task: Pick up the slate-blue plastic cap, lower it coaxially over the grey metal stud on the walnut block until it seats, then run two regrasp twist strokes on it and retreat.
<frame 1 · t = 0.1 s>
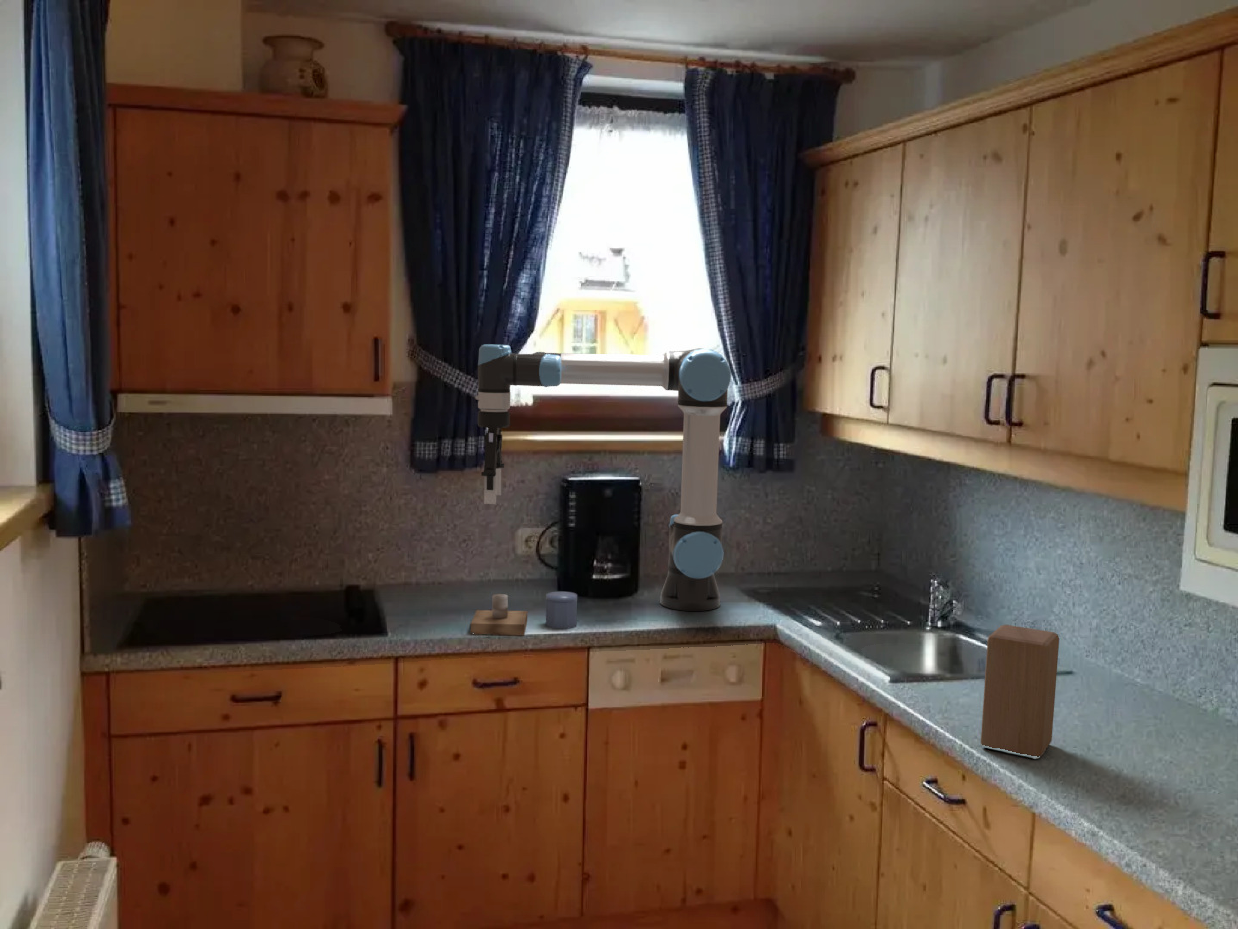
hand: (492, 499, 272), 28 cm above the worktop, fingers open, 13 cm apart
wooden block: (1015, 748, 196), on the worktop
stud block: (499, 627, 263), on the worktop
cap: (561, 624, 267), on the worktop
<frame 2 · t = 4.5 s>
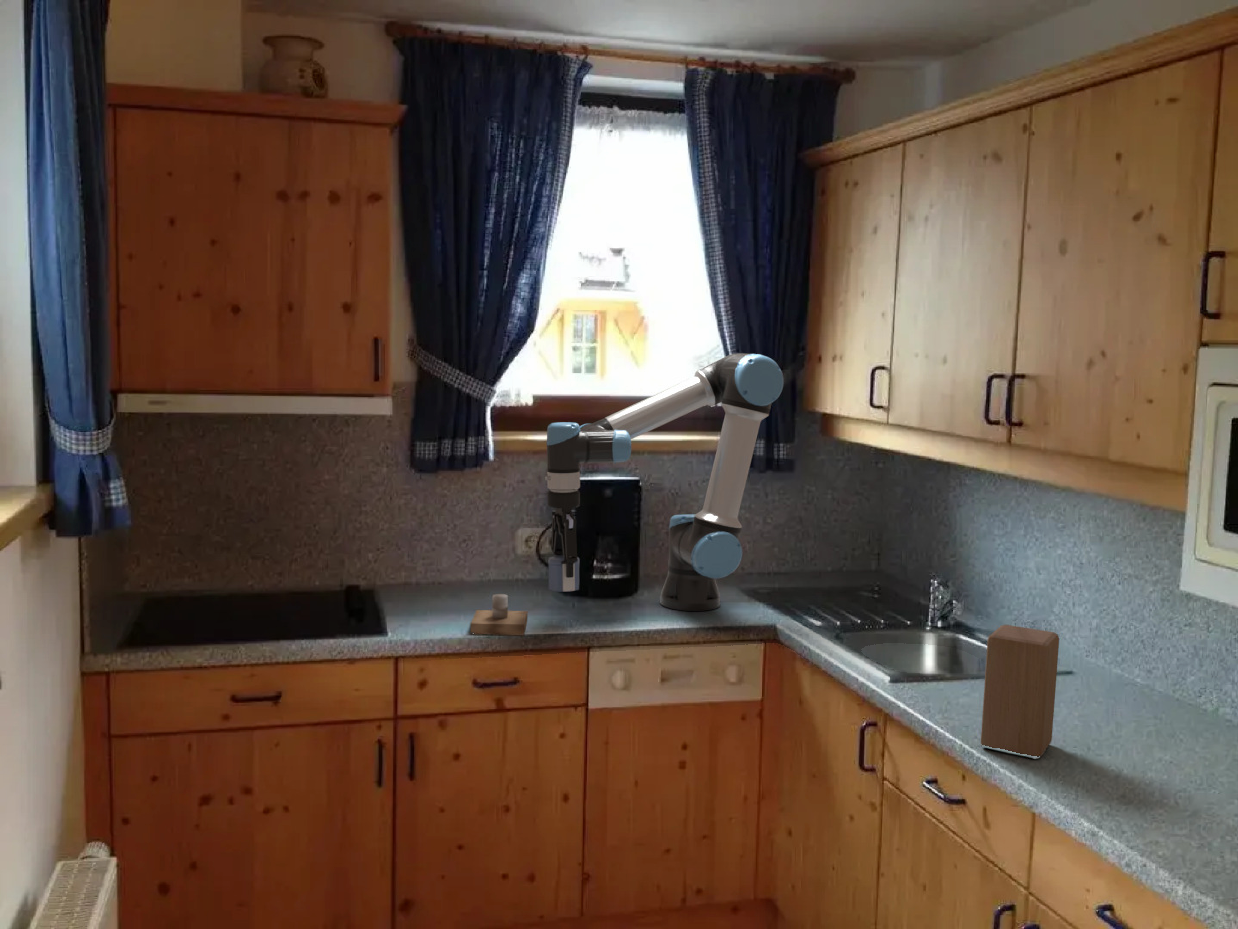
hand: (564, 586, 266), 9 cm above the worktop, fingers closed on cap, 7 cm apart
cap: (563, 588, 266), point 9 cm above the worktop, touching gripper
everything else where it was.
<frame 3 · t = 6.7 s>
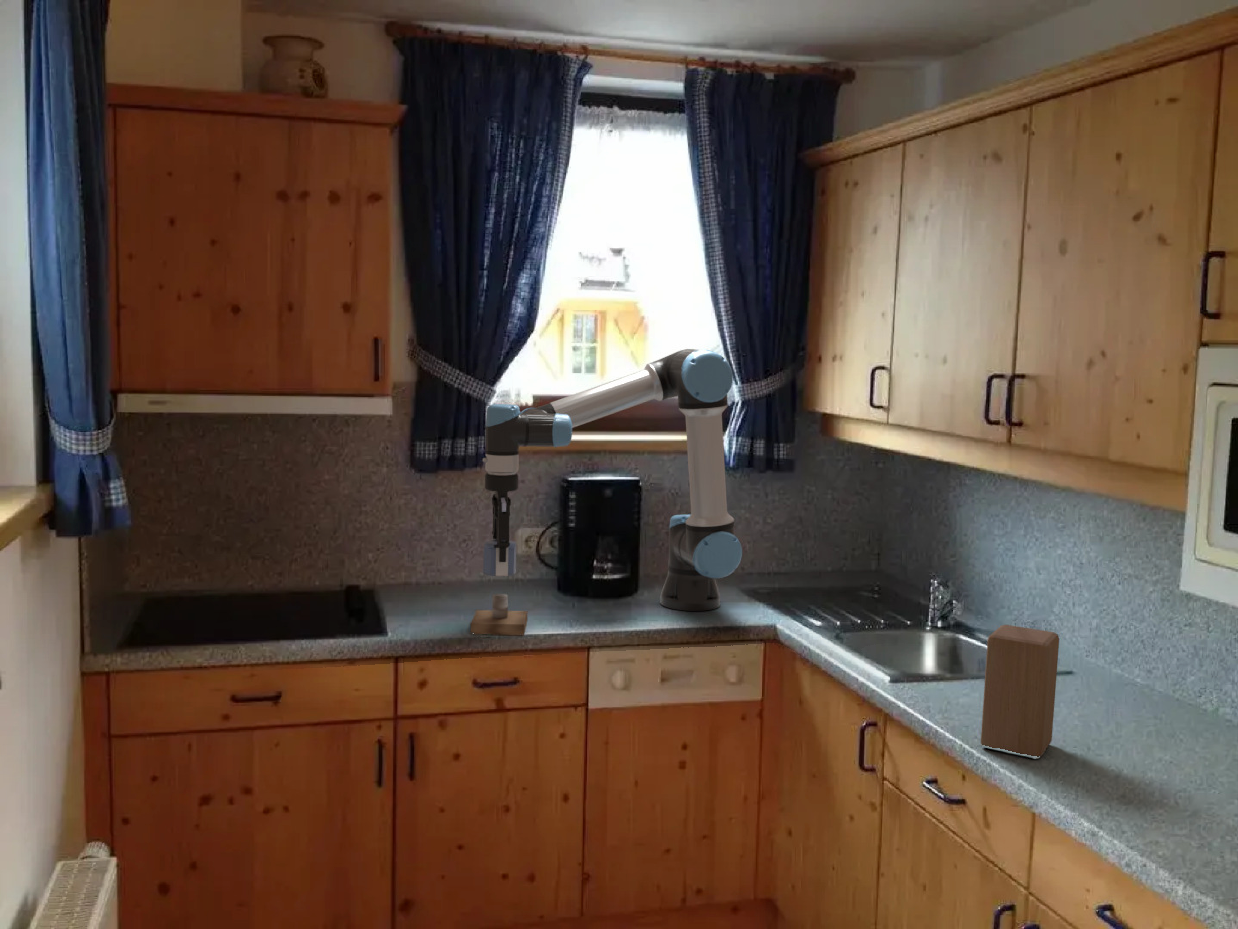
hand: (500, 571, 261), 13 cm above the worktop, fingers closed on cap, 7 cm apart
cap: (499, 572, 261), point 13 cm above the worktop, touching gripper
everything else where it was.
when the fingers open (3 cm above the worktop, at t = 9.3 s): cap stays where it is, resting on stud block.
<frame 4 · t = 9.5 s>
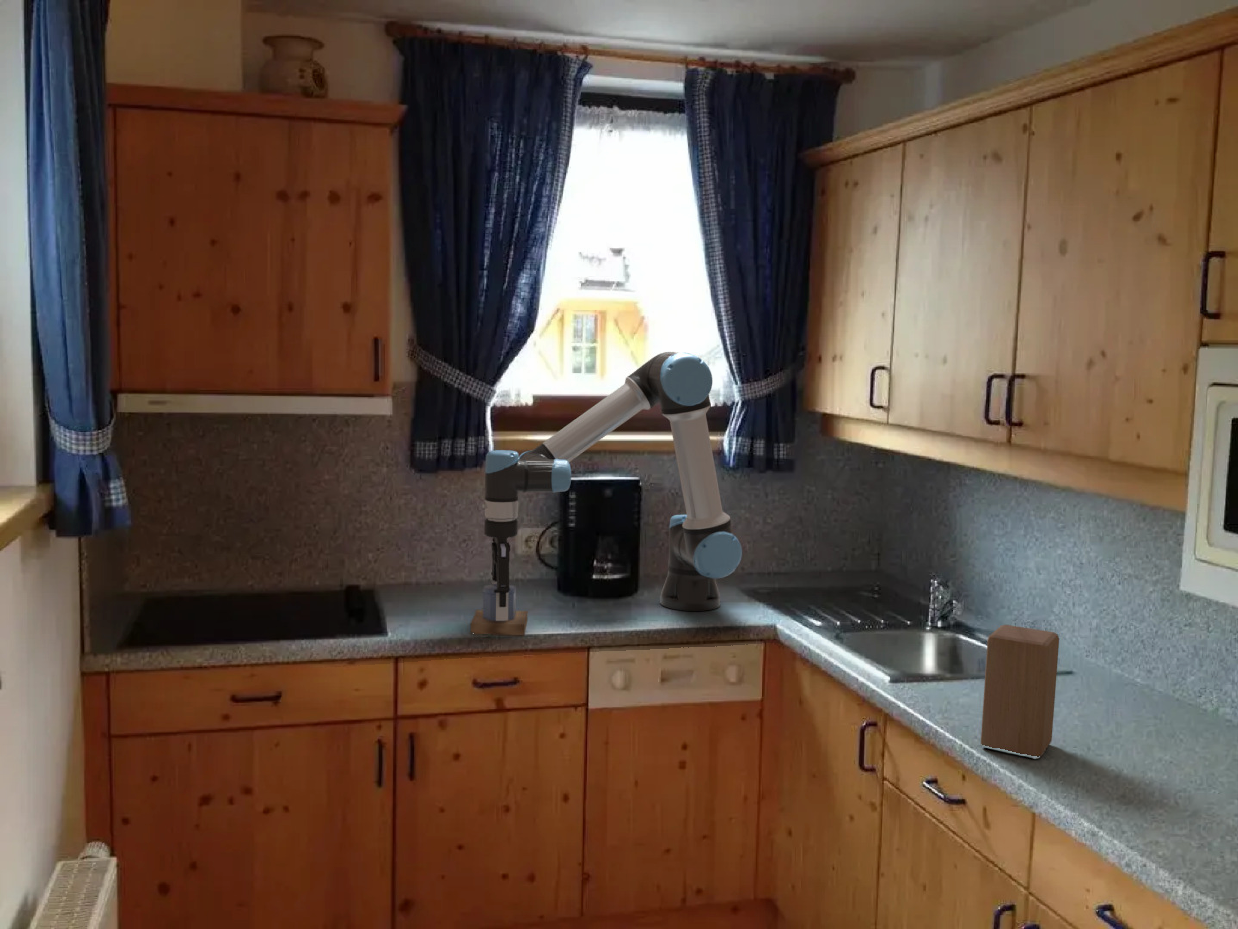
hand: (499, 614, 263), 3 cm above the worktop, fingers open, 9 cm apart
cap: (499, 617, 263), point 2 cm above the worktop, touching stud block
everything else where it was.
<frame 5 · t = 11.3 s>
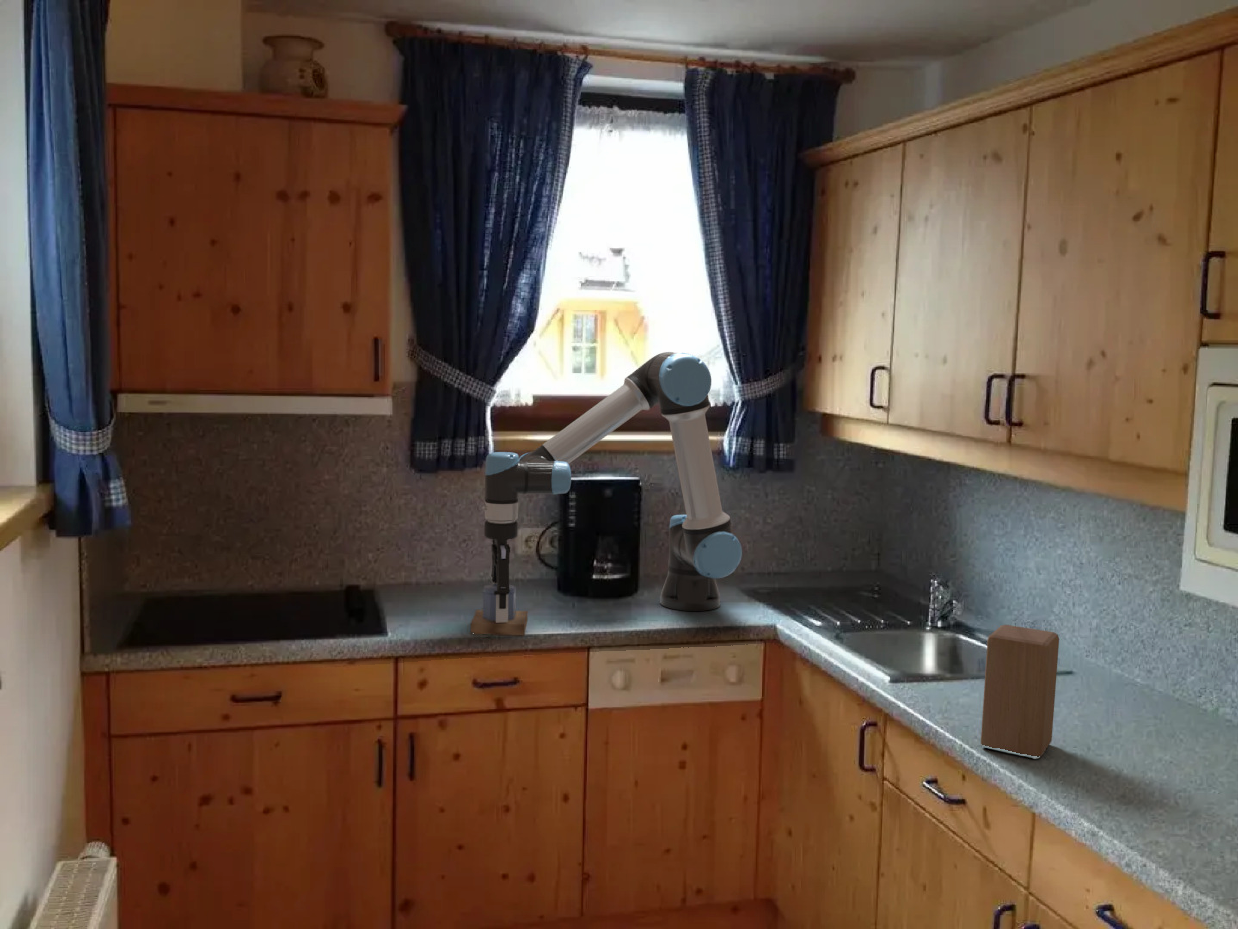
hand: (499, 616, 263), 3 cm above the worktop, fingers closed on stud block, 10 cm apart
nothing on the worktop moved.
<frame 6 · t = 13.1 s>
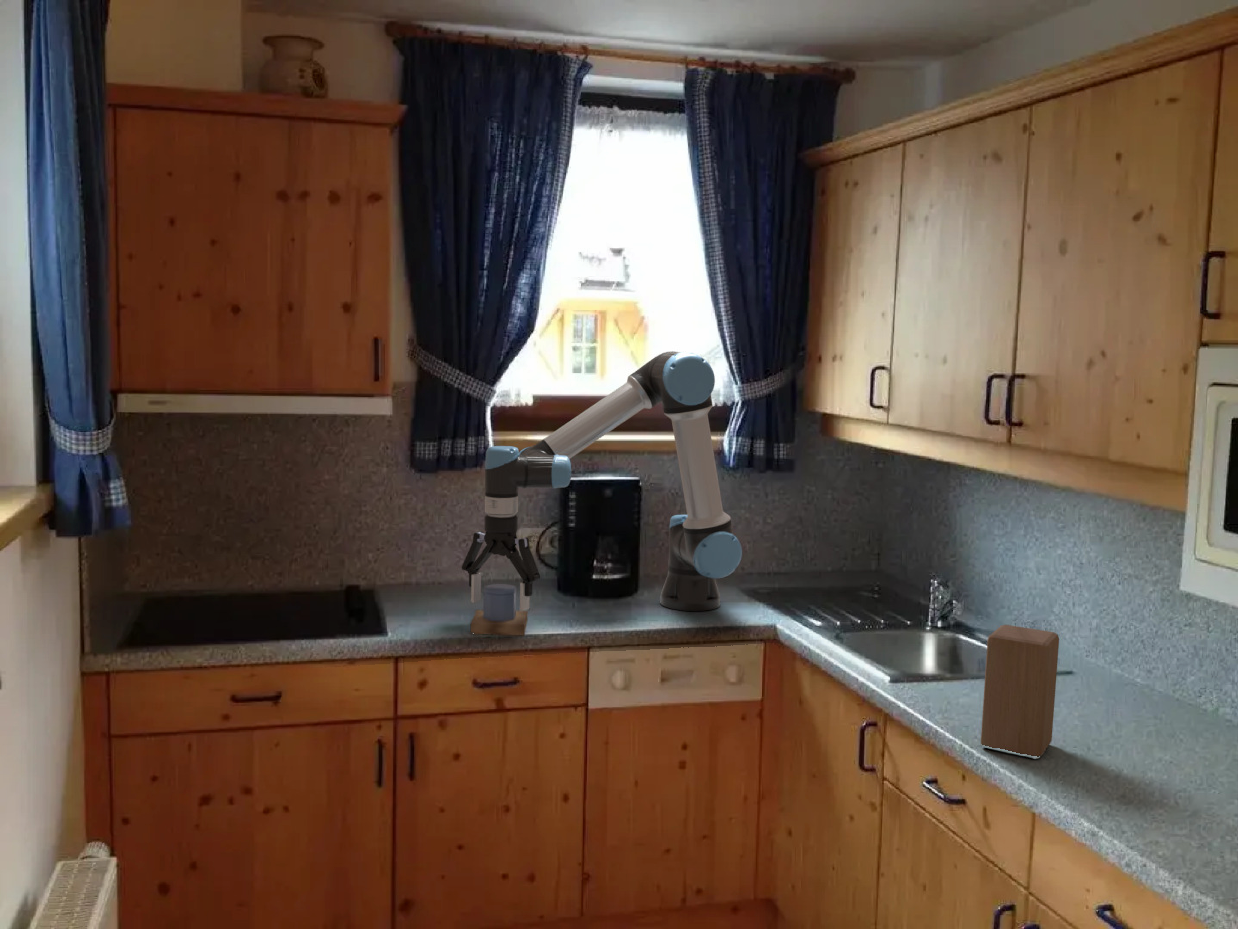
hand: (500, 605, 262), 5 cm above the worktop, fingers open, 13 cm apart
nothing on the worktop moved.
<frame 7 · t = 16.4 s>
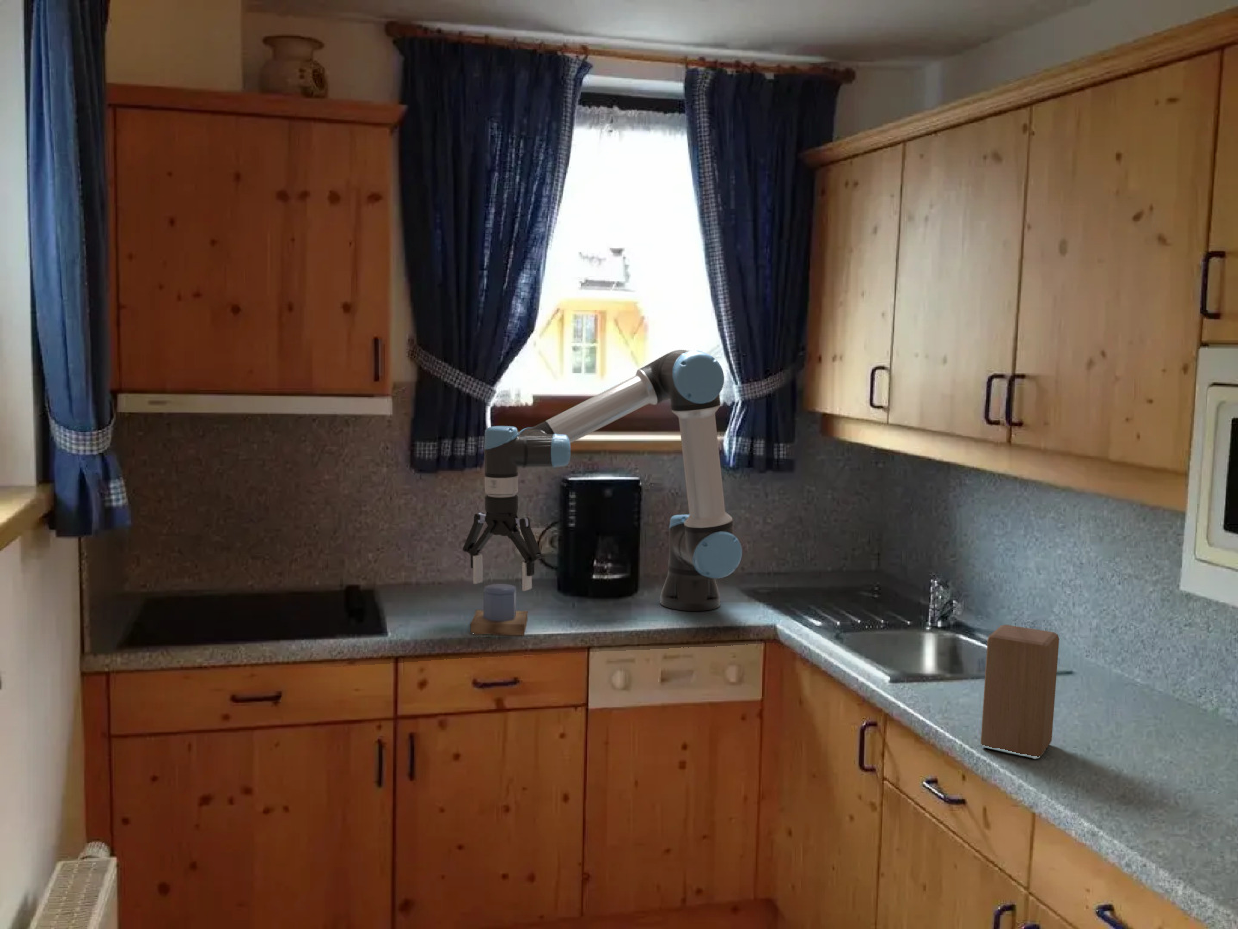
hand: (502, 586, 262), 10 cm above the worktop, fingers open, 13 cm apart
nothing on the worktop moved.
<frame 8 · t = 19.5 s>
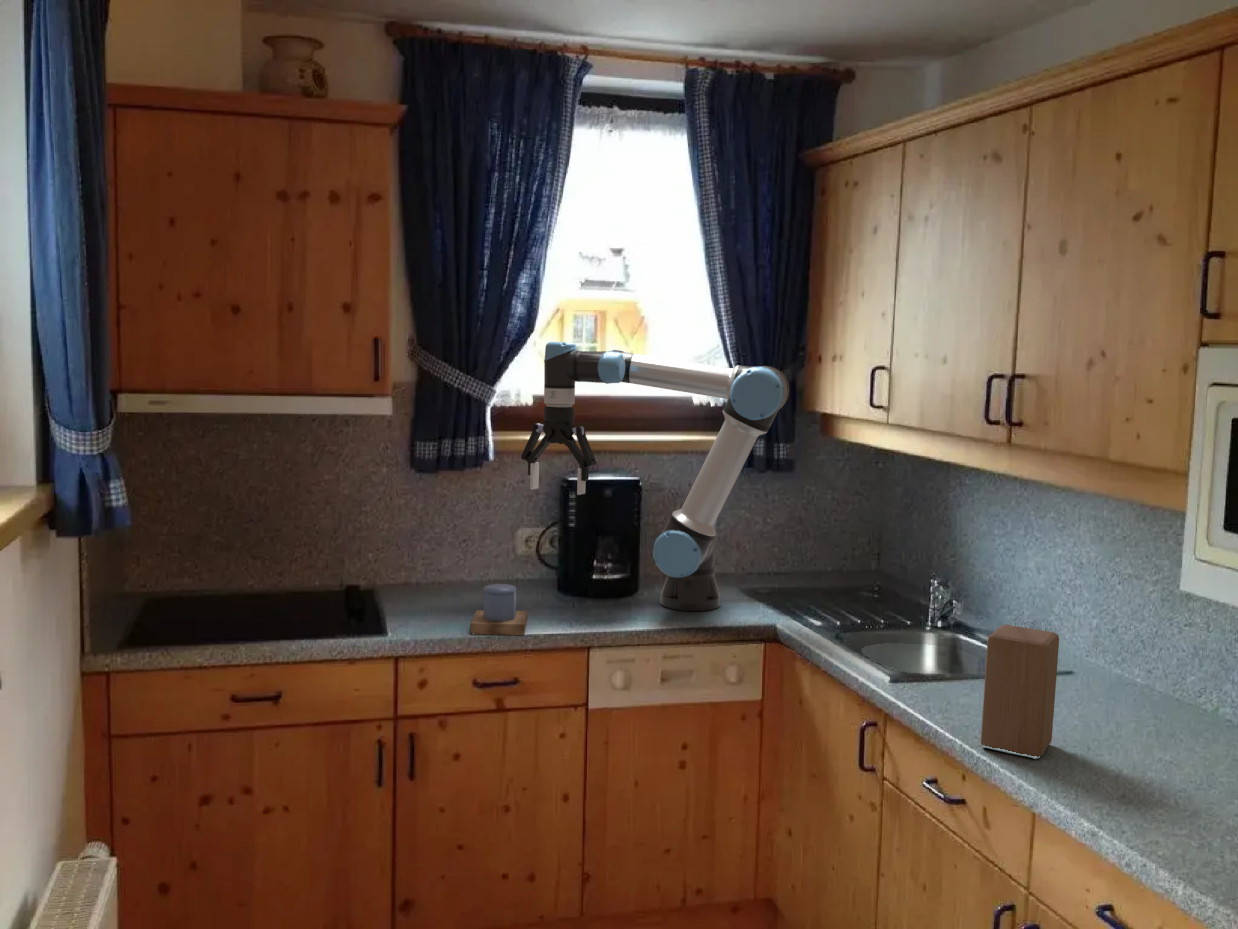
hand: (557, 491, 282), 29 cm above the worktop, fingers open, 13 cm apart
nothing on the worktop moved.
at the end: cap 0.1 cm off-centre on the stud block, point 2.5 cm above the stud block's base; cap tilted 0°; the gripper is holding nothing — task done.
